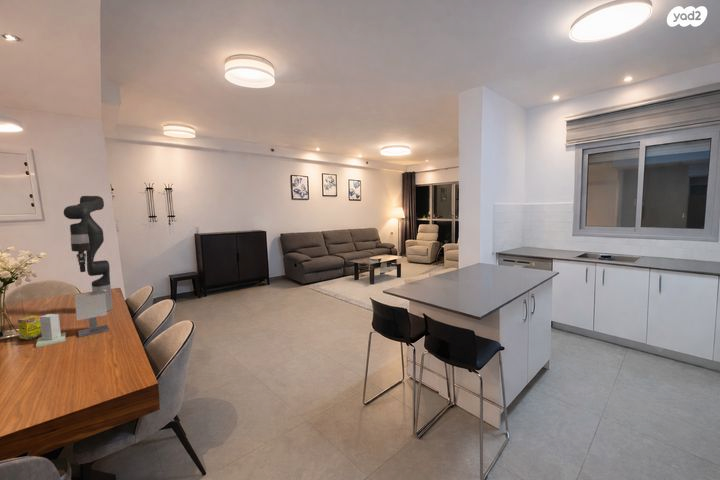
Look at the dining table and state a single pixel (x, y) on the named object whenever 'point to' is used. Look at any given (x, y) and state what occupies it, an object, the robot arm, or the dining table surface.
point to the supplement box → (29, 328)
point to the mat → (47, 342)
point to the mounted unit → (91, 311)
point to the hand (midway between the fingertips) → (82, 270)
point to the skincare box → (50, 326)
